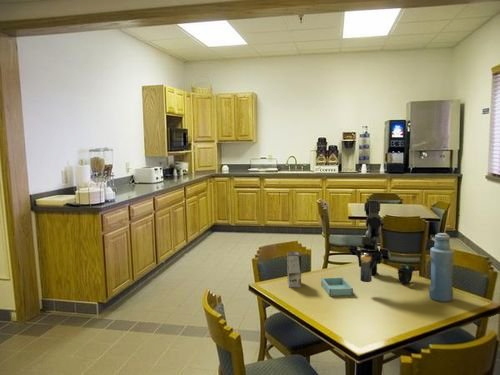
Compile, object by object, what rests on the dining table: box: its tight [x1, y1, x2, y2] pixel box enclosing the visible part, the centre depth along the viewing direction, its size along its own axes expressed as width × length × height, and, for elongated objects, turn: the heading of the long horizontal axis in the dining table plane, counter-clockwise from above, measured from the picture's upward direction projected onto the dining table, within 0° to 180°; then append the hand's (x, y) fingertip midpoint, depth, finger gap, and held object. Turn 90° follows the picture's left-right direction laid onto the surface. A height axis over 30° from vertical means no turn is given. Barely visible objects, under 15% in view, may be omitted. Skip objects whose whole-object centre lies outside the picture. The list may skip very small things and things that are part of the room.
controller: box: [397, 264, 416, 285], centre depth 202 cm, size 4×12×10 cm, turn 132°
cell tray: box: [320, 276, 354, 297], centre depth 193 cm, size 16×11×4 cm
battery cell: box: [359, 253, 373, 283], centre depth 186 cm, size 5×5×13 cm
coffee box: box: [286, 250, 302, 288], centre depth 201 cm, size 9×6×16 cm
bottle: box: [428, 232, 455, 303], centre depth 180 cm, size 10×10×30 cm
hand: (365, 267), depth 185 cm, fingers closed on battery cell, 5 cm apart
